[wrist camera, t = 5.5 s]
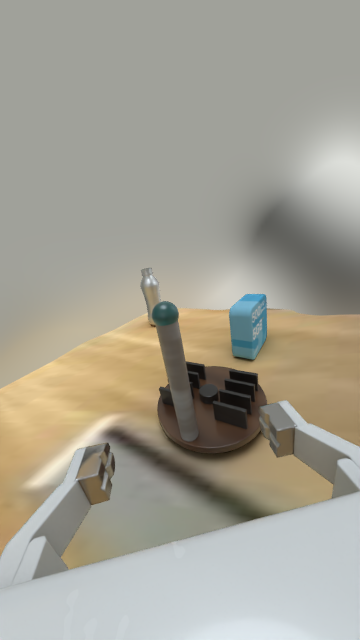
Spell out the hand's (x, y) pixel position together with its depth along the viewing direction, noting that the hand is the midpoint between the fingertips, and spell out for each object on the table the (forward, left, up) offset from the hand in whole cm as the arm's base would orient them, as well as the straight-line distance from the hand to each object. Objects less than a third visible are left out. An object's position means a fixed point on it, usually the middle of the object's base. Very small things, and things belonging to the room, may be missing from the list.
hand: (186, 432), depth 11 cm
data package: (-38, -5, -17) cm, 42 cm away
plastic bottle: (-48, -40, -17) cm, 64 cm away
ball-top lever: (-17, -7, -15) cm, 24 cm away
